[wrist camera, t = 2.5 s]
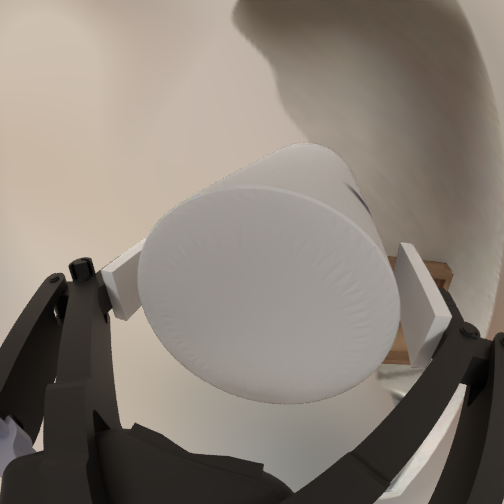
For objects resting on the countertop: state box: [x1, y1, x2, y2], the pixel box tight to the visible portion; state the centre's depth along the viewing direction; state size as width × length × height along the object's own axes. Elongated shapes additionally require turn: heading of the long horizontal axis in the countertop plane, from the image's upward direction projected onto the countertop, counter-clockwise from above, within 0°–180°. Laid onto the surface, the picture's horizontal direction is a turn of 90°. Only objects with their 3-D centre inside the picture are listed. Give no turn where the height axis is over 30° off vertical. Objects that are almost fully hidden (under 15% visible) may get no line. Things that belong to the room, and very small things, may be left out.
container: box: [138, 143, 400, 404], centre depth 18 cm, size 10×10×20 cm
